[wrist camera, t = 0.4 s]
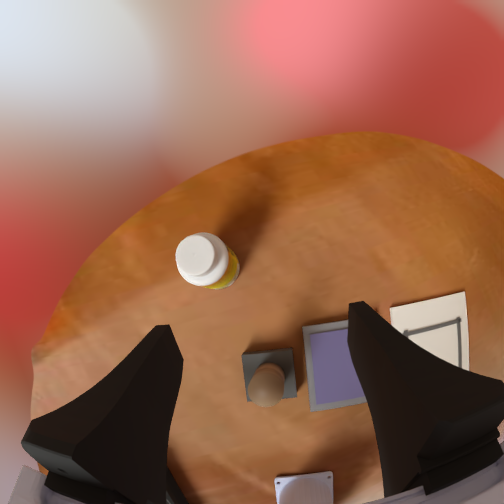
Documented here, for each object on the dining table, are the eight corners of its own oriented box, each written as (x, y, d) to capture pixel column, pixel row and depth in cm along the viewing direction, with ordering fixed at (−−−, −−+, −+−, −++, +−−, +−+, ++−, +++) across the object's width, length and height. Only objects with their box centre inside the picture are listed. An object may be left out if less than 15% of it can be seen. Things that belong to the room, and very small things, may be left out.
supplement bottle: (248, 258, 38) (233, 241, 28) (227, 297, 37) (205, 294, 27) (210, 239, 39) (184, 217, 29) (190, 276, 38) (158, 267, 28)
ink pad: (377, 396, 33) (381, 399, 31) (310, 408, 34) (310, 412, 32) (372, 315, 35) (375, 315, 33) (302, 326, 36) (302, 327, 34)
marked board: (466, 398, 30) (468, 399, 30) (395, 421, 32) (397, 423, 31) (462, 291, 33) (465, 291, 33) (389, 307, 35) (391, 307, 34)
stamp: (296, 392, 34) (298, 414, 26) (249, 396, 35) (239, 419, 27) (292, 347, 35) (293, 359, 28) (243, 352, 36) (232, 364, 28)
